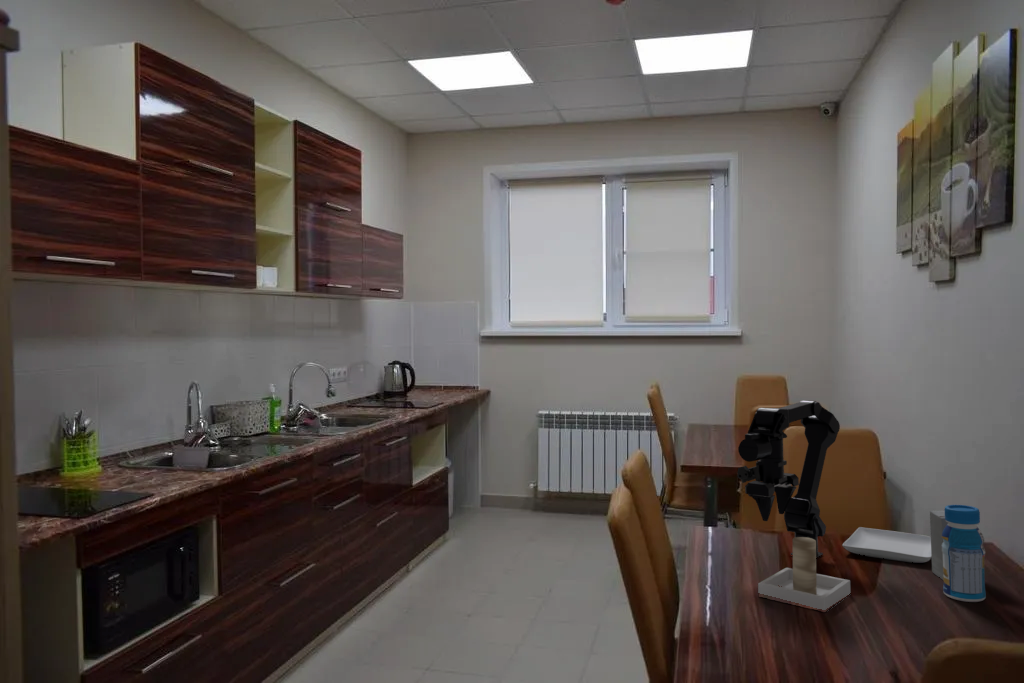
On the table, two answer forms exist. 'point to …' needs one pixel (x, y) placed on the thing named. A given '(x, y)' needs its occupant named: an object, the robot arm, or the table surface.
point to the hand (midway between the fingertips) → (773, 517)
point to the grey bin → (826, 595)
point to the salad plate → (890, 545)
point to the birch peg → (804, 565)
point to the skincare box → (937, 541)
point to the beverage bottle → (963, 554)
